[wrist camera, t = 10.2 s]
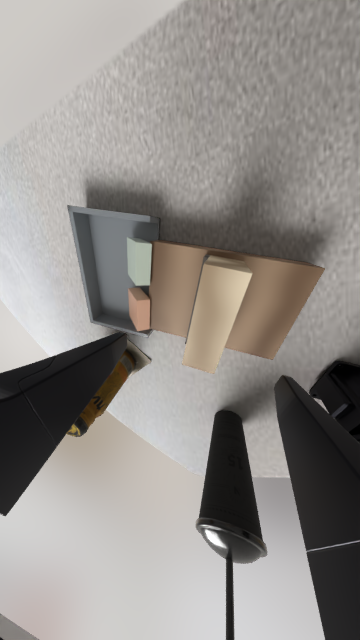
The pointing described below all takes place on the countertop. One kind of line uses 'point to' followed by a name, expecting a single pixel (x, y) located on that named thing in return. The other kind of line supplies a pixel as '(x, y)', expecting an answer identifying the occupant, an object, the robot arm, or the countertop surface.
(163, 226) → the countertop surface
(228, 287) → the tall cream block
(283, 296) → the walnut board
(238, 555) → the drinking cup
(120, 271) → the tray
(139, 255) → the tile sage
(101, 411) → the condiment
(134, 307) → the tile terracotta
